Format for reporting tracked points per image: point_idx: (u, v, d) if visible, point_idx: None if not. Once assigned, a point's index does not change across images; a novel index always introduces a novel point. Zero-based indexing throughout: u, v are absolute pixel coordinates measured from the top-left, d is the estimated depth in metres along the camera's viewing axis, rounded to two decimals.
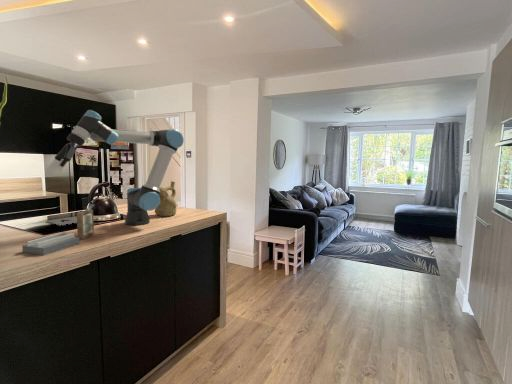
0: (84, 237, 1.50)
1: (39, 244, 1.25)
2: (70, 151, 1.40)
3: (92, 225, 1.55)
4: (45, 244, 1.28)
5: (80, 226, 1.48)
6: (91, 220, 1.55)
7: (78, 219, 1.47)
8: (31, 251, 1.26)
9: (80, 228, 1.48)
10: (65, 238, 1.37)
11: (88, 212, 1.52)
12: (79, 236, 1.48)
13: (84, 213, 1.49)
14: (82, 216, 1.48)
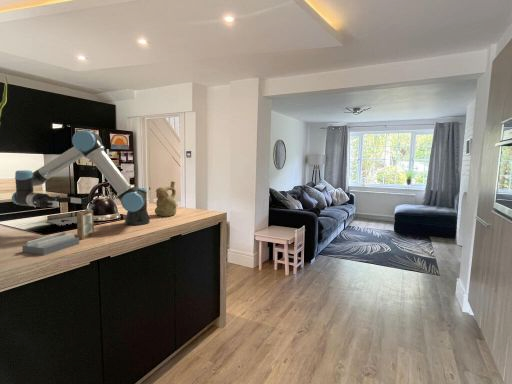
0: (84, 237, 1.50)
1: (39, 244, 1.25)
2: (37, 204, 1.48)
3: (92, 225, 1.55)
4: (45, 244, 1.28)
5: (80, 226, 1.48)
6: (91, 220, 1.55)
7: (78, 219, 1.47)
8: (31, 251, 1.26)
9: (80, 228, 1.48)
10: (65, 238, 1.37)
11: (88, 212, 1.52)
12: (79, 236, 1.48)
13: (84, 213, 1.49)
14: (82, 216, 1.48)
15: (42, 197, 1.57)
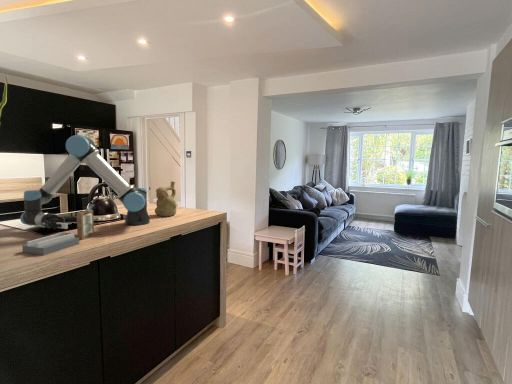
0: (84, 237, 1.50)
1: (39, 244, 1.25)
2: (46, 225, 1.48)
3: (92, 225, 1.55)
4: (45, 244, 1.28)
5: (80, 226, 1.48)
6: (91, 220, 1.55)
7: (78, 219, 1.47)
8: (31, 251, 1.26)
9: (80, 228, 1.48)
10: (65, 238, 1.37)
11: (88, 212, 1.52)
12: (79, 236, 1.48)
13: (84, 213, 1.49)
14: (82, 216, 1.48)
15: (51, 217, 1.56)
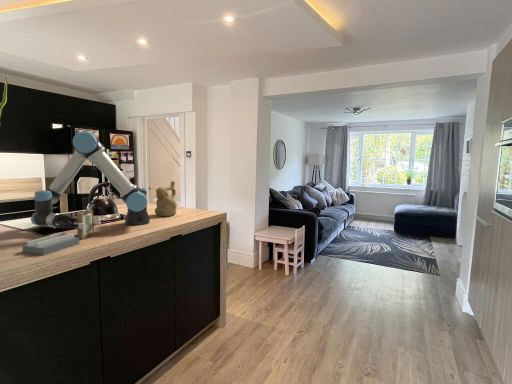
0: (84, 237, 1.50)
1: (39, 244, 1.25)
2: (62, 226, 1.47)
3: (92, 225, 1.55)
4: (45, 244, 1.28)
5: None
6: (91, 220, 1.55)
7: (78, 219, 1.47)
8: (31, 251, 1.26)
9: None
10: (65, 238, 1.37)
11: (88, 212, 1.52)
12: (79, 236, 1.48)
13: (84, 213, 1.49)
14: (82, 216, 1.48)
15: (62, 218, 1.55)
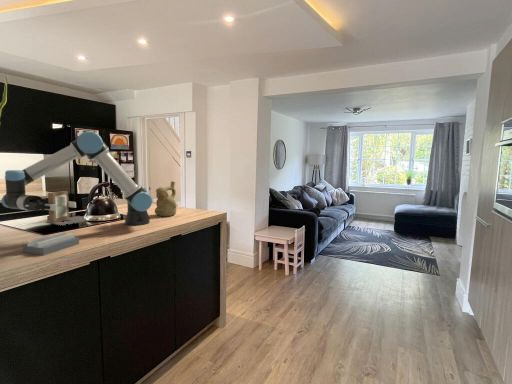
0: (57, 220, 1.36)
1: (39, 244, 1.25)
2: (32, 207, 1.34)
3: (66, 208, 1.42)
4: (45, 244, 1.28)
5: None
6: (65, 202, 1.41)
7: (50, 200, 1.34)
8: (31, 251, 1.26)
9: None
10: (65, 238, 1.37)
11: (62, 193, 1.39)
12: (51, 219, 1.35)
13: (57, 194, 1.36)
14: (54, 197, 1.34)
15: (34, 200, 1.41)
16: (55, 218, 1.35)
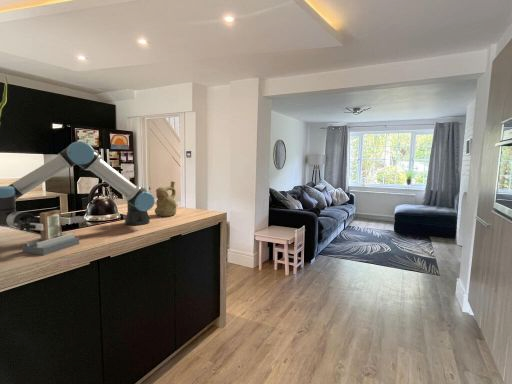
0: None
1: (39, 244, 1.25)
2: (18, 227, 1.28)
3: (59, 227, 1.37)
4: (45, 244, 1.28)
5: (44, 228, 1.29)
6: (58, 222, 1.36)
7: (41, 220, 1.29)
8: (31, 251, 1.26)
9: (44, 231, 1.29)
10: (65, 238, 1.37)
11: (54, 212, 1.34)
12: (43, 240, 1.30)
13: (49, 214, 1.31)
14: (46, 217, 1.29)
15: (25, 217, 1.36)
16: (47, 239, 1.31)
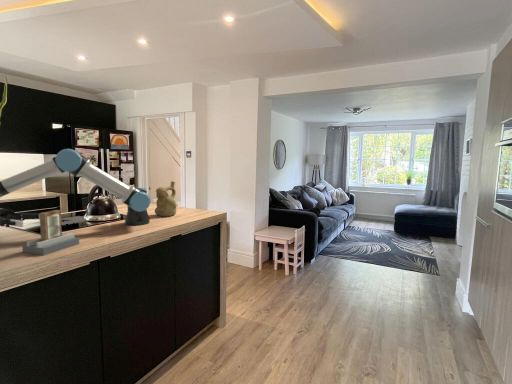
0: None
1: (39, 244, 1.25)
2: None
3: (59, 227, 1.37)
4: (45, 244, 1.28)
5: (44, 228, 1.29)
6: (58, 222, 1.36)
7: (41, 220, 1.29)
8: (31, 251, 1.26)
9: (44, 231, 1.29)
10: (65, 238, 1.37)
11: (54, 212, 1.34)
12: (43, 240, 1.30)
13: (49, 214, 1.31)
14: (46, 217, 1.29)
15: (6, 214, 1.40)
16: (47, 239, 1.31)
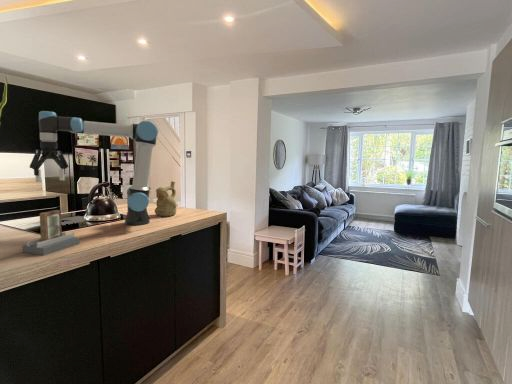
0: None
1: (39, 244, 1.25)
2: (33, 159, 1.47)
3: (59, 227, 1.37)
4: (45, 244, 1.28)
5: (44, 228, 1.29)
6: (58, 222, 1.36)
7: (41, 220, 1.29)
8: (31, 251, 1.26)
9: (44, 231, 1.29)
10: (65, 238, 1.37)
11: (54, 212, 1.34)
12: (43, 240, 1.30)
13: (49, 214, 1.31)
14: (46, 217, 1.29)
15: (50, 148, 1.53)
16: (47, 239, 1.31)
